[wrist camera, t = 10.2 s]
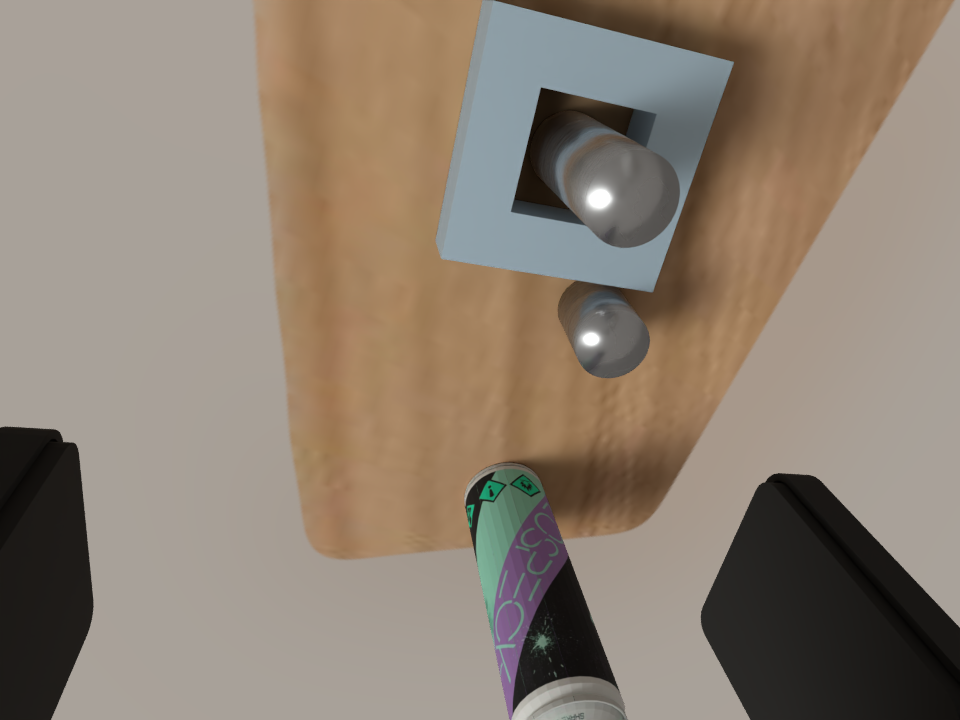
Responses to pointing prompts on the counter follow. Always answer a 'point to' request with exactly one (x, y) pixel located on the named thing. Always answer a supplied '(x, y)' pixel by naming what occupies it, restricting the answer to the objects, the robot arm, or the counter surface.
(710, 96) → the collar block
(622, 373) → the short pin
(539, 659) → the spray can
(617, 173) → the long pin
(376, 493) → the counter surface
